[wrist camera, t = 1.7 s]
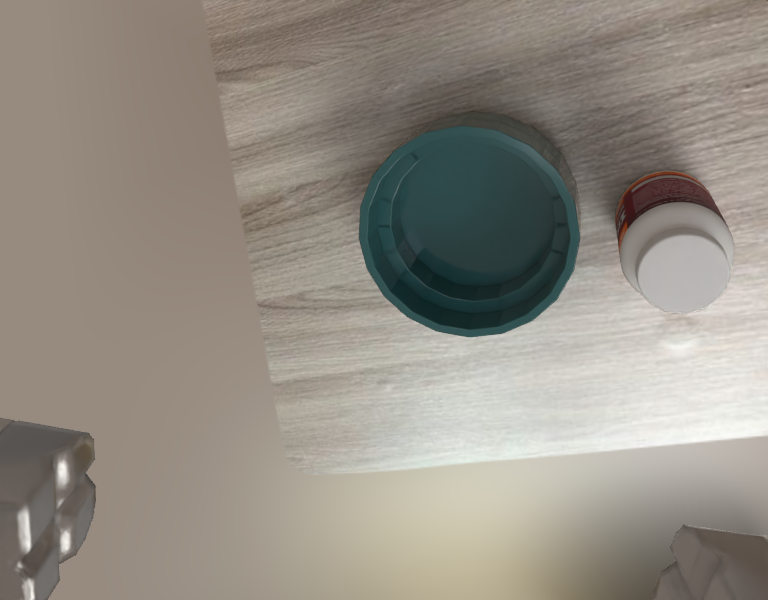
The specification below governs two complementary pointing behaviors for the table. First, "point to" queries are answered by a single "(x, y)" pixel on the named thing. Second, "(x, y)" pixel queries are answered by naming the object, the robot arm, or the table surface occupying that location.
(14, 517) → the robot arm
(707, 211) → the pill bottle
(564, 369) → the table surface
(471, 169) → the bowl
